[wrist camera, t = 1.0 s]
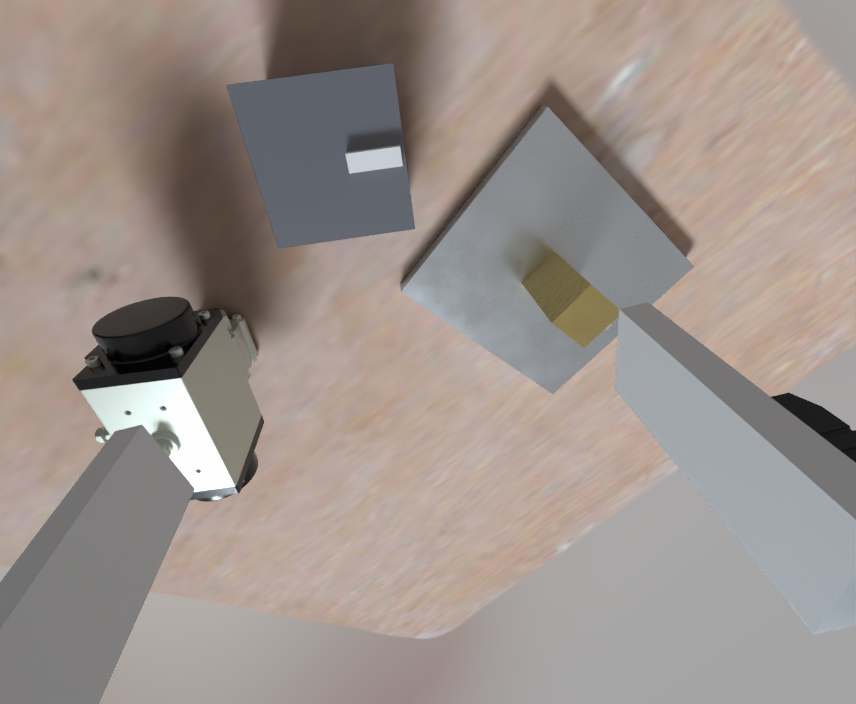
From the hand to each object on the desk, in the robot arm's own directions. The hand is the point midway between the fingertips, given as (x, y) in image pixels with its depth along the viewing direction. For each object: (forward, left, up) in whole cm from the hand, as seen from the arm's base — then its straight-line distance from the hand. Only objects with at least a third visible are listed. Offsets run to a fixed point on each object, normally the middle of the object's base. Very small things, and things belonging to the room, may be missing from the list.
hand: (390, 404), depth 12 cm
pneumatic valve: (-5, -14, -19) cm, 24 cm away
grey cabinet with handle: (-5, +2, -19) cm, 19 cm away
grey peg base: (+11, +4, -19) cm, 22 cm away
